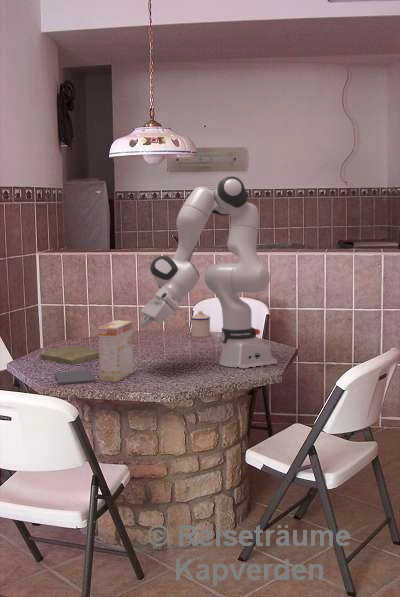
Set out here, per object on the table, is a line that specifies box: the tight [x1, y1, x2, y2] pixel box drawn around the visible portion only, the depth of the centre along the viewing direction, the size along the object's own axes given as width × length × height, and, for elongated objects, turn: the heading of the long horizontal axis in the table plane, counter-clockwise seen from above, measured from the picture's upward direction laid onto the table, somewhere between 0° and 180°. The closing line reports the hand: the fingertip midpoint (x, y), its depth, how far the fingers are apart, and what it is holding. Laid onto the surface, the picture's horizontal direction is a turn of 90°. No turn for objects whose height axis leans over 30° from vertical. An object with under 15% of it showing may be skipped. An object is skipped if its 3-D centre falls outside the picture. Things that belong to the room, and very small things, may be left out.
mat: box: [54, 369, 96, 386], centre depth 267 cm, size 13×16×1 cm
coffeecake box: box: [97, 319, 134, 383], centre depth 268 cm, size 15×7×20 cm, turn 162°
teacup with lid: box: [184, 310, 211, 338], centre depth 347 cm, size 12×9×12 cm
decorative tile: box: [39, 345, 100, 366], centre depth 302 cm, size 19×20×4 cm
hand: (141, 326), depth 272 cm, fingers closed
